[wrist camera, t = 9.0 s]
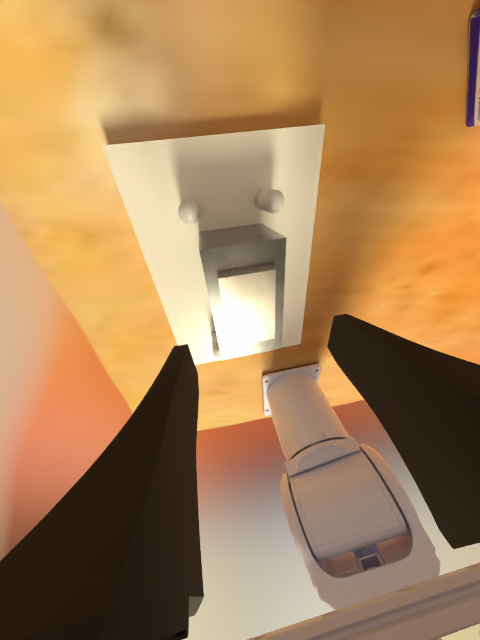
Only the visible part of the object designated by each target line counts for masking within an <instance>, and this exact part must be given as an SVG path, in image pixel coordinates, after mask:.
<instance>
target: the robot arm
mask: <svg viewBox="0 0 480 640" xmlns="http://www.w3.org/2000/svg"><path fill="white" fill-rule="evenodd" d="M327 347H328V349H329V350H330V352H331V354H332V356H333V358H334V359H335V361H336V363H337V364H338V365H339V367H340V368H341V369H342V371H343V372H344V373H345V375H346V376H347V377H348V379H349V380H350V381H351V383H352V384H353V385H354V386H355V388H356V389H357V390H358V392H359V393H360V394H361V395H362V397H363V398H364V399H365V400H366V402H367V403H368V405H369V406H370V407H371V409H372V410H373V412H374V413H375V414H376V416H377V418H378V419H379V421H380V422H381V424H382V426H383V427H384V429H385V430H386V432H387V433H388V435H389V437H390V438H391V440H392V442H393V443H394V445H395V447H396V449H397V450H398V452H399V454H400V455H401V457H402V459H403V461H404V462H405V464H406V466H407V468H408V469H409V471H410V473H411V475H412V477H413V479H414V480H415V482H416V484H417V486H418V488H419V490H420V492H421V494H422V496H423V498H424V500H425V502H426V503H427V505H428V507H429V509H430V511H431V513H432V515H433V517H434V520H435V522H436V524H437V526H438V528H439V530H440V531H441V533H442V534H443V536H444V537H445V539H446V540H447V541H448V543H449V544H450V545H451V547H452V548H453V549H456V548H460V547H464V546H468V545H472V544H476V543H480V365H478V364H475V363H472V362H469V361H465V360H462V359H459V358H456V357H453V356H450V355H447V354H444V353H441V352H438V351H436V350H433V349H430V348H427V347H425V346H422V345H420V344H417V343H415V342H412V341H409V340H407V339H405V338H402V337H400V336H397V335H395V334H393V333H390V332H388V331H386V330H383V329H381V328H379V327H376V326H374V325H372V324H370V323H367V322H365V321H363V320H360V319H358V318H355V317H353V316H350V315H348V314H342V315H337V316H334V319H333V324H332V328H331V333H330V337H329V342H328V346H327ZM320 369H321V366H320V364H313V365H308V366H303V367H298V368H294V369H289V370H284V371H280V372H275V373H270V374H265V375H263V377H262V385H263V405H264V415H265V416H268V415H271V416H272V419H273V422H274V425H275V428H276V431H277V434H278V438H279V441H280V444H281V447H282V450H283V453H284V455H285V457H286V459H287V462H285V466H286V469H287V473H284V474H283V476H282V480H281V484H280V487H281V488H280V489H281V496H282V501H283V505H284V510H285V513H286V517H287V521H288V524H289V527H290V530H291V533H292V536H293V538H294V541H295V543H296V545H297V548H298V550H299V552H300V554H301V555H302V557H303V559H304V562H305V564H306V567H307V569H308V572H309V575H310V578H311V580H312V583H313V586H314V587H315V588H316V589H317V591H318V594H319V597H320V599H321V600H322V601H323V602H324V603H326V604H327V605H328V606H330V607H331V608H332V609H334V610H335V611H332V612H329V613H326V614H323V615H320V616H317V617H314V618H311V619H308V620H305V621H302V622H299V623H296V624H293V625H290V626H287V627H284V628H281V629H278V630H275V631H272V632H269V633H266V634H263V635H260V636H257V637H254V638H251V639H248V640H442V639H441V637H443V636H446V635H449V634H452V633H454V632H457V631H460V630H463V629H465V628H468V627H471V626H474V625H476V624H479V623H480V563H477V564H474V565H471V566H468V567H465V568H462V569H459V570H456V571H453V572H450V573H447V574H444V575H441V576H439V572H440V561H439V559H438V557H437V556H436V554H435V547H434V546H433V544H432V542H431V541H430V539H429V537H428V535H427V533H426V532H425V530H424V528H423V526H422V525H421V523H420V521H419V519H418V515H417V513H416V511H415V508H414V506H413V504H412V503H411V501H410V499H409V497H408V496H407V494H406V492H405V490H404V489H403V487H402V485H401V484H400V482H399V481H398V479H397V478H396V476H395V475H394V473H393V472H392V470H391V469H390V468H389V466H388V465H387V463H386V462H385V461H384V459H383V458H382V457H381V456H380V455H379V453H378V452H377V451H376V450H374V449H373V448H371V447H369V446H367V445H366V444H360V445H358V444H357V442H356V440H355V439H354V437H349V435H348V434H347V432H346V430H345V429H344V427H343V425H342V424H341V422H340V420H339V419H338V417H337V415H336V414H335V412H334V410H333V409H332V407H331V405H330V404H329V402H328V400H327V399H326V397H325V395H324V394H323V392H322V391H321V389H320V387H319V386H318V384H317V383H318V378H319V374H320ZM198 400H199V387H198V373H197V370H196V367H195V364H194V361H193V358H192V355H191V352H190V349H189V346H188V344H184V345H179V346H174V348H173V349H172V351H171V353H170V355H169V356H168V358H167V360H166V362H165V364H164V365H163V367H162V369H161V371H160V373H159V374H158V376H157V378H156V379H155V381H154V383H153V384H152V386H151V387H150V389H149V391H148V392H147V394H146V395H145V397H144V398H143V400H142V401H141V403H140V404H139V406H138V407H137V409H136V410H135V411H134V413H133V414H132V416H131V417H130V418H129V420H128V421H127V423H126V424H125V425H124V426H123V428H122V429H121V430H120V432H119V433H118V434H117V436H116V437H115V438H114V439H113V441H112V442H111V443H110V444H109V445H108V447H107V448H106V449H105V450H104V452H103V453H102V454H101V455H100V457H99V458H98V459H97V460H96V461H95V462H94V463H93V465H92V466H91V467H90V468H89V469H88V470H87V472H86V473H85V474H84V475H83V476H82V477H81V478H80V479H79V481H78V482H77V483H76V484H75V485H74V486H73V487H72V488H71V489H70V490H69V491H68V492H67V493H66V495H65V496H64V497H63V498H62V499H61V500H60V501H59V502H58V503H57V504H56V505H55V506H54V507H53V509H52V510H51V511H50V512H49V513H48V514H47V515H46V516H45V517H44V518H43V519H42V520H41V521H40V522H39V523H38V524H37V525H36V526H35V527H34V528H33V529H32V530H31V531H30V532H29V533H28V534H27V535H26V536H25V537H24V538H23V539H22V540H21V541H20V542H19V543H18V544H17V545H16V546H15V547H14V548H13V549H12V550H11V551H10V552H9V553H8V554H7V555H6V556H5V557H4V558H3V559H2V560H1V561H0V640H182V639H185V638H187V637H188V626H189V625H188V624H189V617H190V616H194V615H195V614H196V612H197V610H198V608H199V606H200V604H201V602H202V600H203V597H204V593H203V580H202V565H201V551H200V535H199V518H198V497H197V471H196V437H197V419H198Z"/></svg>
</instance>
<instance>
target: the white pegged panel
mask: <svg viewBox="0 0 480 640" xmlns="http://www.w3.org/2000/svg"><path fill="white" fill-rule="evenodd" d="M324 131H325V124H321V125H310V126H300V127H290V128H279V129H269V130H258V131H248V132H238V133H227V134H217V135H206V136H196V137H186V138H175V139H165V140H155V141H144V142H134V143H123V144H113V145H103V146H102V147H103V149H104V152H105V155H106V157H107V160H108V162H109V165H110V168H111V170H112V173H113V176H114V178H115V181H116V184H117V186H118V189H119V191H120V194H121V197H122V199H123V202H124V205H125V207H126V210H127V212H128V215H129V218H130V220H131V223H132V226H133V228H134V231H135V234H136V236H137V239H138V241H139V244H140V247H141V249H142V252H143V255H144V257H145V260H146V263H147V265H148V268H149V270H150V273H151V276H152V278H153V281H154V284H155V286H156V289H157V291H158V294H159V297H160V299H161V302H162V305H163V307H164V310H165V313H166V315H167V318H168V320H169V323H170V326H171V328H172V331H173V334H174V336H175V339H176V342H177V344H178V346H179V345H184V344H188V346H189V349H190V352H191V355H192V358H193V361H194V364H195V365H197V364H202V363H207V362H212V361H217V360H222V357H221V352H220V348H219V343H218V338H217V333H216V329H215V324H214V319H213V314H212V309H211V305H210V300H209V295H208V290H207V285H206V281H205V276H204V271H203V266H202V261H201V257H200V252H199V232H200V231H207V230H214V229H222V228H229V227H237V226H244V225H252V224H259V223H262V224H264V225H265V226H267V227H269V228H271V229H272V230H274V231H276V232H277V233H279V234H281V235H283V236H284V237H286V259H285V283H284V307H283V330H282V348H283V347H288V346H293V345H298V344H301V337H302V328H303V319H304V310H305V301H306V292H307V283H308V274H309V265H310V256H311V247H312V238H313V229H314V220H315V211H316V202H317V193H318V185H319V176H320V167H321V158H322V149H323V140H324Z"/></svg>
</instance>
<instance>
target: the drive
mask: <svg viewBox="0 0 480 640" xmlns="http://www.w3.org/2000/svg"><path fill="white" fill-rule="evenodd" d="M199 252H200V257H201V261H202V266H203V271H204V276H205V281H206V285H207V290H208V295H209V300H210V305H211V309H212V314H213V319H214V324H215V329H216V333H217V338H218V343H219V348H220V352H221V357H222V360H225V359H230V358H235V357H240V356H246V355H251V354H256V353H261V352H266V351H271V350H276V349H281V348H282V330H283V307H284V283H285V259H286V237H284V236H283V235H281V234H279V233H277V232H276V231H274V230H272V229H271V228H269V227H267V226H265V225H264V224H262V223H259V224H252V225H244V226H237V227H229V228H222V229H214V230H207V231H200V232H199Z"/></svg>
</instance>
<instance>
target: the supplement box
mask: <svg viewBox="0 0 480 640" xmlns="http://www.w3.org/2000/svg"><path fill="white" fill-rule="evenodd" d="M466 125H467V127H471V126H476V125H480V8H479V9H478V10H477V11H476V12H475V13H473V14H472V15H471V17H470V24H469V40H468V80H467V101H466Z"/></svg>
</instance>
